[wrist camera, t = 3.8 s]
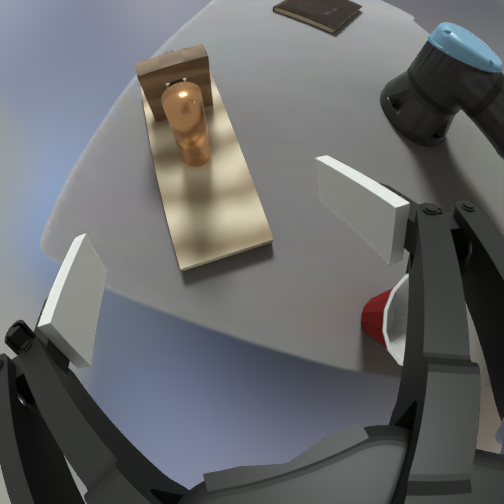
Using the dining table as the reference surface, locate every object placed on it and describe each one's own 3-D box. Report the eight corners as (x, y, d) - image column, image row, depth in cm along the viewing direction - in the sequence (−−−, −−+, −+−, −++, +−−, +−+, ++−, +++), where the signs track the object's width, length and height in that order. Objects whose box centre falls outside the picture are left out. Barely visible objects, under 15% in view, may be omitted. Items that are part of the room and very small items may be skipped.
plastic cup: (352, 269, 36) (398, 255, 24) (413, 287, 36) (467, 280, 24) (333, 347, 34) (374, 365, 22) (397, 358, 34) (448, 374, 22)
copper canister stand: (144, 94, 40) (124, 44, 27) (209, 75, 41) (203, 21, 29) (183, 270, 35) (155, 255, 23) (271, 242, 36) (288, 213, 24)
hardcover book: (360, 11, 50) (362, 6, 47) (332, 35, 46) (335, 29, 44) (310, -9, 51) (311, -15, 48) (272, 12, 47) (273, 5, 44)
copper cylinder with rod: (162, 79, 37) (147, 26, 25) (186, 72, 37) (175, 17, 26) (185, 170, 34) (164, 115, 22) (214, 161, 35) (205, 103, 23)
